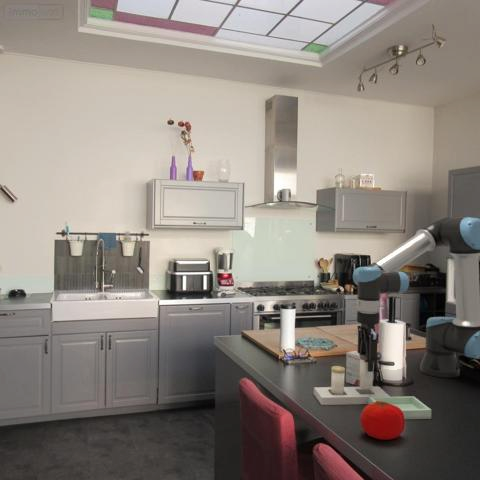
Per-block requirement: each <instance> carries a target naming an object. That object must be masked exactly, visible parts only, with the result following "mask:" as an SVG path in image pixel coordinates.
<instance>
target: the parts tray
mask: <svg viewBox="0 0 480 480" xmlns="http://www.w3.org/2000/svg"><path fill="white" fill-rule="evenodd" d="M376 401H378V402H379V401H383V402H387V403H389V404H391V405H394V406H397V407H398V408H400V409H401V411H402V412H403V414H404V419H405V420H426V419H429V420H431V419H432V409H431V408H430V407H428V406H427V405H426V404H424V403H423V402H422V401H420V400H419V399H418V397H417V398H416V396H413V395H412V396H411V395H410V396H409V395H408V396H406V395H405V396H403V395H402V396H390V397H369V404H373V403H374V402H376ZM369 404H368V405H369Z"/></svg>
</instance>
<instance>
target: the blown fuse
mask: <svg viewBox="0 0 480 480" xmlns="http://www.w3.org/2000/svg"><path fill="white" fill-rule="evenodd" d="M365 360H367V358H366V354H361V355H360V388H363V389H372V388H373V387H374V385H373V383H374V379H373V380H368V381H366V380H365Z"/></svg>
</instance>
